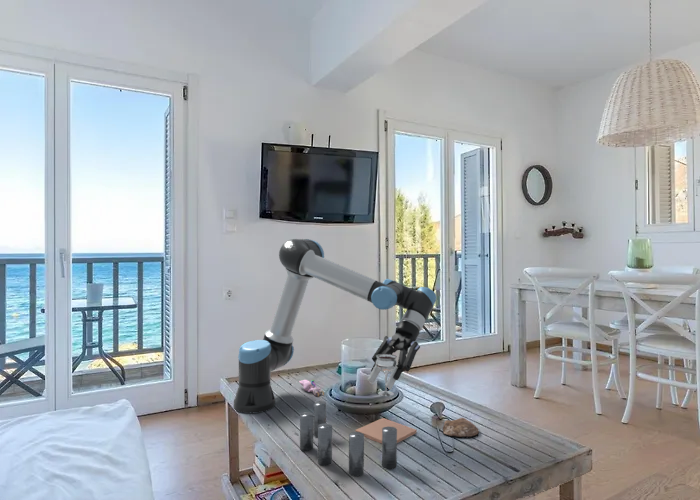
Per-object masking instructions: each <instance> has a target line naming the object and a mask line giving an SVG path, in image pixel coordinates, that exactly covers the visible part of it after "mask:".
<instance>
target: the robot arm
mask: <svg viewBox="0 0 700 500" xmlns="http://www.w3.org/2000/svg"><path fill="white" fill-rule="evenodd" d="M278 258H279V260H280V261H279V262H280V263H281V265H282V266H283V267H284V268H285V271H286V272H287V275H286V278H285V281H284V284H283V287H282V290H281V294H280V298H279V300H278V302H277V303H278V304H277V307H276V311H275V314H274V317H273V320H272V323H271V325H270V328H269V329H267V330H266V331H265V332H264V336H263V339H256V340H255V339H253V340H250V341H247V342H245V343H243V344H242V345H240V347H239V349H238V357H237V358H238V387H237V390H236V393H235V396H234V398H233V409H234V410H235V411H236V412H240V413H244V414H254V413H253V412H258V413H263V412H262V411H264V412H267V411H269V410H271V409H273V408H274V407H276V397H275V394H274V391H273V388H272V384H271V376H272V375H271V372H273V371H276V370H277V369H279V368H282V367H284V366H286V365H287V363H289V362H290V361H291V360H292V358H293V356H294V351H295V349H294V346H293V344H294V343H293V342H294V338H293V336H292V333H293V330H294V327H295V324H296V320H297V317H298V314H299V311H300V308H301V305H302V302H303V300H304V299H303V298H304V295H305V292H306V290H307V286H308V283H309V281H310V280H312V279H313V278H315V279H317V280H320V281H322V282H324V283H327V284H328V285H331V286H333V287H336V288H338V289H340V290H342V291H344V292H346V293H349V294H351V295H353V296H356V297H358V298H361V299H363V300H364V301H367V302H369V303H372V305H373V306H374V307H375V308H376V309H379V310H382V311H383V310H386V311H387V310H389V309H392V308H393V307H395V306H398V307H401V308H403V309H404V310H405V313H403V316H402V318H401V319H400V322H398V324H397V327H396V329H395V333H394V334H393V335H392V336H389V337H388V335H384V337H383V340H382V342H381V344H380V345H379V347H378V348H377V350H376V351H375V353H374V354H373V356H372V357H371V360H372V361H373V363H374V364H373V365H372V368H371V369H370V374H369V375H368V378H367V379H366V380H367V381H368V382H369V383H370V385H374V383H375V382H376V380H377V378H378V376H379V375H380V373H381V371H380V370H379V369H378V368H377V366H376V360H377V357H376V355H378V354H393V355H394V353H396V352H397V351H399V353H398V355H399V356H398V361H397V365H396V367H394V369H393V371H392V372H390V375H389V377H387V382H386V384H385V383H384V386H385V385H386V386H387V388H388V389H387V390H388V391H391V390H392V389H393V387H394V385H395V383H396V382H397V381H398V380H399V379H400V377H401V375H402V373H403V372H410V370H411V367H412V364H413V362H414V360H415V357H416V355H417V352H418V351H419V350H420V348H421V346H420V344H419V343H418V342H417V341H416V340H417V338H418V337H419V335H420V332H421V331H422V328H423V327H424V324H425V323H426V321H427V320H428V317H429V316H430V313H431V312H432V311H433V308H434V305H435V303H436V301H437V294H436V292H435V291H433V289H431V288H429V287H427V286H426V287H425V286H421V287H419V288H417V290H416V289H412V288H410V287H408V286H407V285H404V284H402V283H400V282H398V281H396V280H392V279H390V278H386V279H384V280H383V282H381V281H378V280H376V279H375V278H372V277H369V276H367V275H364V274H362V273H360V272H357V271H355V270H353V269H350V268H348V267H346V266H343V265H340V264H339V263H337V262H334V261H331V260H329V259H326V258H325V252H324V249H323V247H322V246H321V244H320V243H319V242H318V241H316V240H313V239H308V238H305V239H303V238H302V239H301V238H293V239H289V240H287V241H285V242H284V243H283V244H282V245H281V246H280V248H279V252H278ZM266 410H267V411H266ZM250 412H252V413H250Z"/></svg>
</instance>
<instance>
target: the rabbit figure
mask: <svg viewBox="0 0 700 500" xmlns="http://www.w3.org/2000/svg"><path fill="white" fill-rule="evenodd" d="M298 383H300V385H301V386H302V387H303V389H304V391H306V392H308V393H312V394H313V396H315V397H320V396H321V395H322V396H325V392H324V390H322V389H321V387H318V386H317V385H316V382H315V379H312V380H311V381H309V380H308V379H303V380H299V381H298Z"/></svg>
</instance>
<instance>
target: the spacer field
mask: <svg viewBox="0 0 700 500" xmlns="http://www.w3.org/2000/svg"><path fill="white" fill-rule="evenodd" d="M299 422H300V423H299V450H301V452H311V451H313V450H314V437H315V438H317V464H318V465H320V466H322V467H327V466H329V465H332V464H333V424H331V423H327V402H326V401H322V400H321V401H315V402H313V412H311V411H305V412H301V413H300V414H299ZM397 451H398V443H397V429H396V428H395V427H389V426H388V427H384V428H383V429H382V444H381V467H382V468H383V469H386V470H394V469H397V466H398V465H397V462H398V460H397V458H398V455H397V454H398V453H397ZM364 467H365V437H364V434H363V433H361V432H355V431H353V432H350V433H349V434H348V474H349V476H350V477H351V476H352V477H357V478H358V477H361V476H363V475H364V473H365V468H364Z"/></svg>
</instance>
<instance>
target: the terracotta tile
mask: <svg viewBox="0 0 700 500" xmlns="http://www.w3.org/2000/svg"><path fill="white" fill-rule="evenodd" d="M388 426H389V427H395V428H396V429H397V444H398V443H400V442H402V441H404V440H406V439H408V438H409V437H411V436H413V435H416V434H417V429H416V428H413V427H410V426H407V425H404V424H401V423H399V422H395V421H393V420H389V419H387V418H384V417H382V418H379V419H378V420H377V419H376V420H375V421H373V422H370V423H368V424H366V425H364V426H361V427H359V428H356V429H355V431H354V432H361V433H363V434H364V438H367V439H370V440H371V441H373V442H376V443H379V444H381V445H382V429H383V428H384V427H388Z"/></svg>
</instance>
